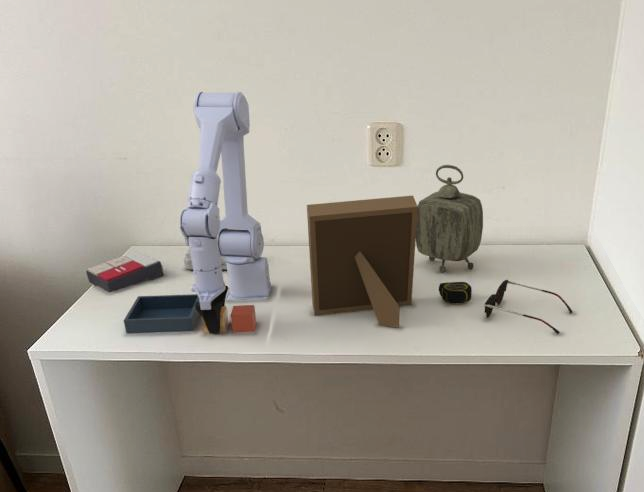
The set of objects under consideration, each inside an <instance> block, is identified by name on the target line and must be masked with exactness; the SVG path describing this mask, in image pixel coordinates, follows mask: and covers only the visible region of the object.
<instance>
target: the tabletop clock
mask: <svg viewBox="0 0 644 492" xmlns="http://www.w3.org/2000/svg"><path fill="white" fill-rule="evenodd" d="M442 169H452V170H455V171H456V172H458V173H459V174H460V176H461V177H460V179H458V180H455V181H454V180H453V179H452V177H450V176H449V177H447V178H446V179H443V178H441V177H440V176H439V171H441V170H442ZM435 175H436V176H435V177H436V178H437V180H438V181H440V182H441V183H443V184H444V185H442V186H441V187H440V188H439V190H438V191H435V192H433V193H431V194H429V195H428V196H425V197H424V198H423V199H421V200H419V201H418V204H417V206H418V211H417V226H416V241H415V247H416V250H417V252H418V253H420V254H421V255H424V256H426V257H428V260H429V261H430V262H435V260H436V259H437V260H440V261H441V265H440V266H439V269H438V270H439V272H440V273H445V272H446V266H445V263H446V261H448V262H462V261H465V262H466V263H467V269H469V270H472V269H474V268H475V265H474V263H473V262H470V260H469V257H470V256H472V255H473V254H474V253H475V252H477V251H479V250H478V249H479V248H480V245H481V242H482V237H483V230H484V211H483V204H482V201H481V199H480V198H479V197H477V196H475V195H473V194H469V193H464V192H460V190H459V188H458V187H457V186H456V185H458V184H460V183H461V182H463V180H464V173H463V171H462V170H461V169H460V167H458V166H455V165H451V164H443V165H440V166H439V167H438V168H436V170H435Z"/></svg>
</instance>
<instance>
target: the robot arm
mask: <svg viewBox="0 0 644 492" xmlns="http://www.w3.org/2000/svg"><path fill="white" fill-rule="evenodd" d="M249 107H250V106H249V102H248V100H247V98H246V96H245V95H244V93H243V92H242V91H236V92H203V91H198V92H197V93H196V94H195V96H194V99H193V114H194V119H195V122H196V124H197V126H198V128H199V130H200V131H199V134H200V135H199V149H198V150H199V151H198V152H199V153H198V168H197V169H196V170H194V171H193V172H192V173H191V177H190V185H189V191H188V198H187V205H186V208H185V209H183V210H182V211H181V213H180V218H179V230H180V232H181V234H182V236H183V238H184V240H185V244H186V246H188V247H189V249H190V254H191V260H192V266H193V269H192V270H193V277H194V281H195V284H192V285H191V287H190V292H191V293H192V292H193V293H195V294H197V295H198V297H199V299H200V301H198V302H196V303H195V308H196V310H197V311H198V312H199V313H200V317H201V319H202V318H203V320H204V322H205V324H206V326H207V329H208V331H209V333H208V334H219V332H220V313H221V308H222V306H226V300H227V301H247V300H249V301H252V300H267V299H269V295H270V292H271V287H272V285H271V284H272V283H271V277H270V268H269V260H268V258H267V257H266V256H262V255H263V252H264V248H265V242H264V241H265V240H264V235H263V233H262V226H261V223H260V222H259V221H258V220H256V219H255V218H254V217H252V216H251V215H250V214H249V212H248V211H249V210H248V195H247V194H248V193H247V192H248V191H247V178H246V177H247V175H246V163H245V161H246V159H245V143H244V142H245V140H244V139H245V138H244V137H245V136H246V135H248V134H249V133H250V126H251V125H250V108H249ZM220 159H221V171H222V180H221V177H220V176H219V175H218V173H217V171H218V168H219V163H220ZM221 183H222V185H223V200H224V213H225V216H223V217H222V218H220V207H219V206H218V205H219V204H218V203H219V199H220V198H219V197H220V191H221ZM220 256H221V257H223V261H226V265H227V269H226V271H227V278H228V285H229V286H228V285H226V283H225V281H224V273H223V269H222V267H221V260H220ZM228 291H229V292H228ZM227 293H228V295H227ZM226 297H227V298H226Z"/></svg>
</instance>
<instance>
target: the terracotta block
mask: <svg viewBox="0 0 644 492" xmlns="http://www.w3.org/2000/svg"><path fill="white" fill-rule="evenodd" d="M230 322H231V329H232V333H250V332H251V333H252V332H255V330H256V325H257V315H256V307H255V304H246V305H245V304H243V305H232V309H231V311H230Z"/></svg>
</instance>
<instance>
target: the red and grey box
mask: <svg viewBox="0 0 644 492" xmlns="http://www.w3.org/2000/svg"><path fill="white" fill-rule="evenodd" d="M85 272H86V276H87V279H88V282H89V283H90V284H92V285H94V286H95V287H99V288H100V289H102V290H103V291H106V292H108V293H113V292H115V291H118V290H122V289H125V288H127V287H130V286H134V285H137V284H140V283H141V282H144V281H146V280H149V281H153V280H155V279H158V278H160V277H163V276H164V274H165V273H164V270H163V266H162V262H161V261H160V260H158V259H156V258H154V257H151V256H150V255H147V254H145V253H143V252H141V251H135V252H132V253H128V254H126V255H122V256H119V257H115V258H113V259H111V260H108V261H106V262H103V263H99V264H96V265H94V266H91V267H88V268H87V270H86V271H85Z"/></svg>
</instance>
